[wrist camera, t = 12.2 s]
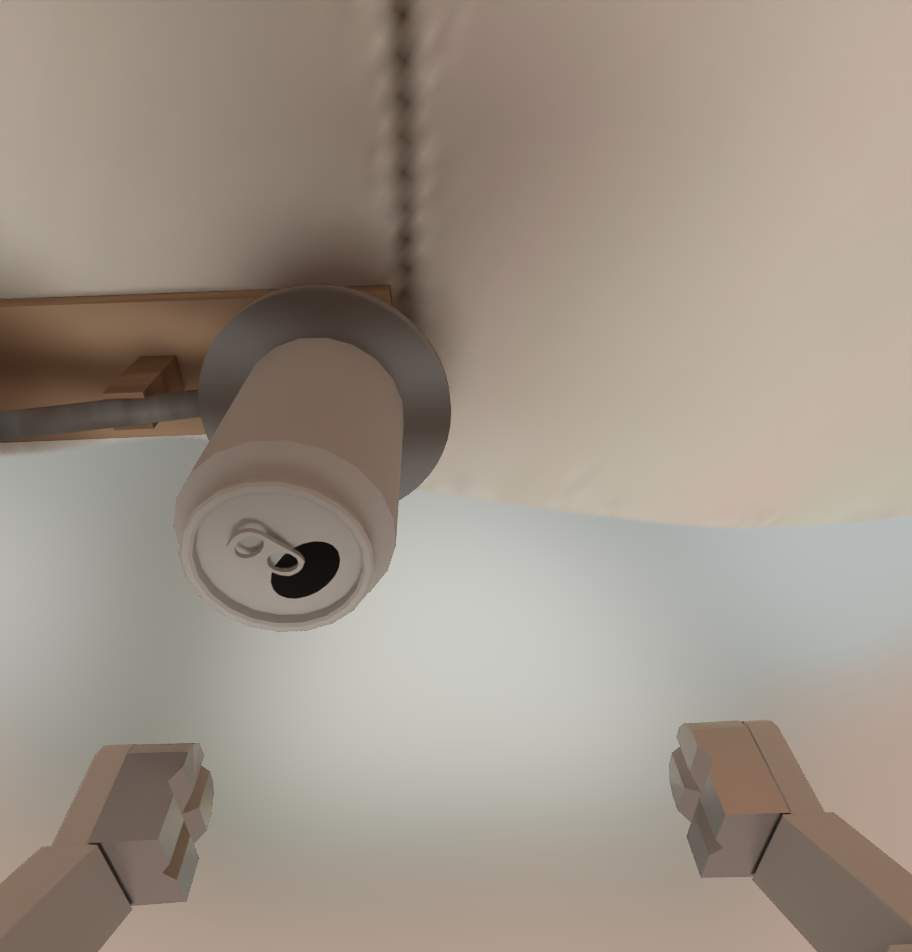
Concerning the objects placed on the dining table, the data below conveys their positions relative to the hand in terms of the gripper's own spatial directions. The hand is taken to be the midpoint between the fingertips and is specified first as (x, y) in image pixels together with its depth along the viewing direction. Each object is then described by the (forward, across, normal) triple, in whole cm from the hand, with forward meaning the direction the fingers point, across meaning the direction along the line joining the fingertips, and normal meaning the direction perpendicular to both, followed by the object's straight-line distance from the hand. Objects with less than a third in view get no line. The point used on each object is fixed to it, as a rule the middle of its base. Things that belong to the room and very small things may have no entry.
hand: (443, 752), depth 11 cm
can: (+22, +5, +4) cm, 22 cm away
